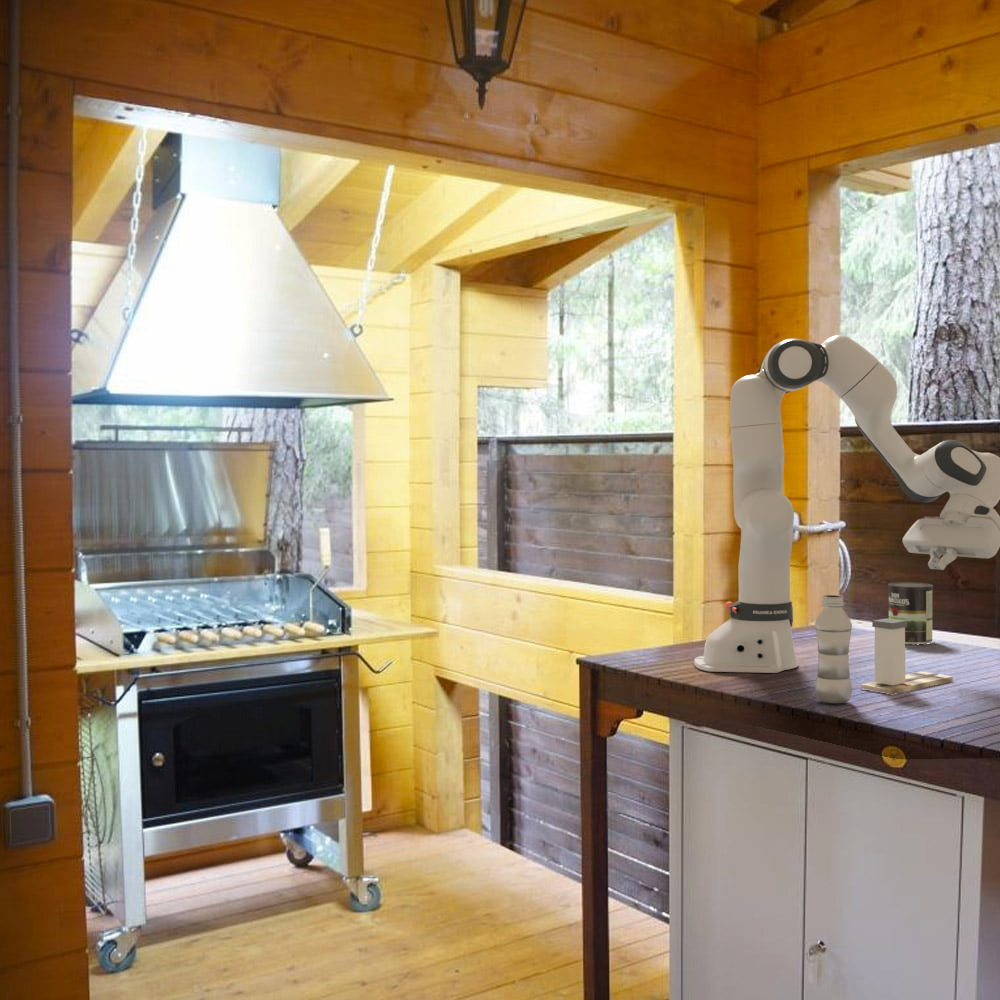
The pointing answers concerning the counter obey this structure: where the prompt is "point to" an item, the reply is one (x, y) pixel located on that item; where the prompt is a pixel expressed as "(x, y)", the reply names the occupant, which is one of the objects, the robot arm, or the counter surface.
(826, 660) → the plastic bottle
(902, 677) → the slider handle
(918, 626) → the coffee can
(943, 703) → the counter surface
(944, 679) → the board
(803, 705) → the counter surface
